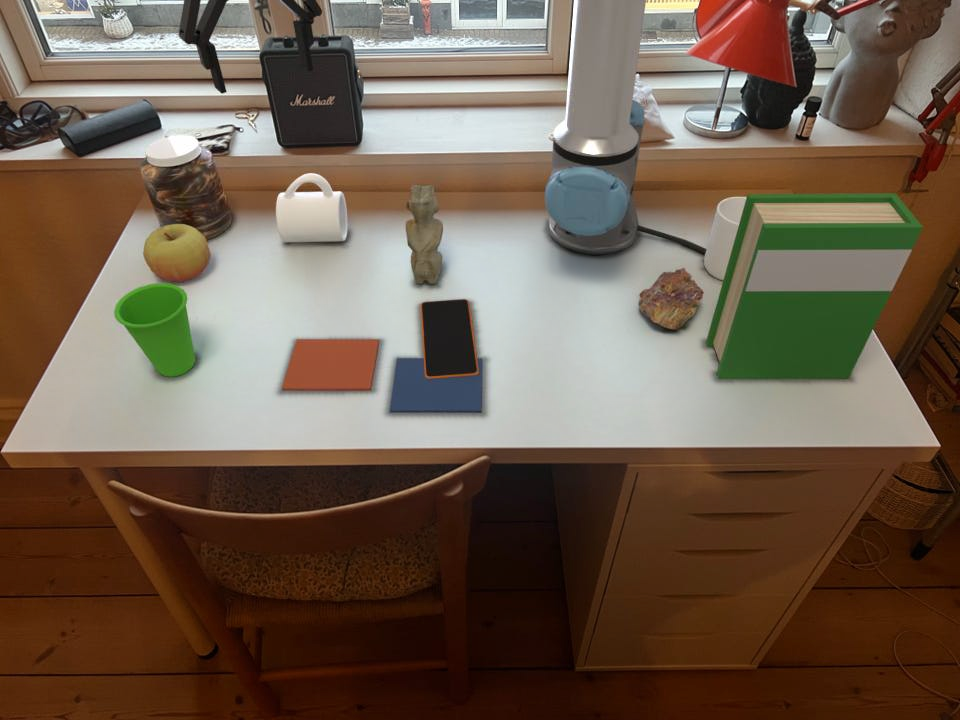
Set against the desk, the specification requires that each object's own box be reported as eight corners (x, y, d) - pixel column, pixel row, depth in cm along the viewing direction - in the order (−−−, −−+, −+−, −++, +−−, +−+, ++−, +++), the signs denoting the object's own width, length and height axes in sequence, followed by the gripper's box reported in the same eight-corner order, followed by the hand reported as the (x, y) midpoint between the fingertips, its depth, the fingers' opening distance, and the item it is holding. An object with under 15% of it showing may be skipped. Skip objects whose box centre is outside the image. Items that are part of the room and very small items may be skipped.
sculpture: (448, 263, 116) (444, 181, 105) (442, 289, 110) (437, 206, 100) (413, 261, 116) (406, 179, 106) (405, 287, 111) (397, 204, 101)
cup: (190, 391, 95) (164, 330, 87) (129, 382, 96) (99, 321, 88) (221, 347, 101) (199, 286, 93) (164, 339, 102) (138, 279, 95)
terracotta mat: (379, 341, 102) (379, 339, 101) (370, 390, 94) (370, 388, 94) (297, 341, 102) (296, 339, 102) (282, 390, 95) (281, 388, 94)
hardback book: (718, 378, 95) (765, 227, 79) (705, 342, 101) (747, 194, 84) (848, 378, 95) (923, 227, 79) (829, 342, 100) (895, 193, 84)
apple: (145, 291, 111) (127, 249, 105) (162, 256, 118) (146, 214, 112) (207, 288, 111) (193, 246, 106) (220, 253, 118) (207, 212, 113)
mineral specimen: (629, 277, 109) (657, 246, 105) (666, 298, 112) (696, 268, 108) (640, 326, 101) (672, 294, 97) (680, 348, 103) (713, 317, 99)
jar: (178, 207, 129) (151, 129, 119) (240, 208, 129) (218, 131, 119) (153, 243, 121) (121, 163, 111) (219, 244, 120) (193, 164, 110)
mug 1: (291, 225, 125) (277, 163, 116) (349, 224, 125) (339, 162, 116) (282, 251, 119) (267, 188, 110) (343, 250, 119) (333, 187, 110)
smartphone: (425, 382, 96) (424, 377, 95) (420, 305, 108) (420, 301, 107) (480, 377, 96) (480, 373, 96) (469, 302, 108) (469, 297, 108)
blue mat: (482, 360, 99) (482, 358, 98) (481, 412, 91) (481, 410, 91) (397, 360, 99) (396, 358, 98) (389, 412, 91) (389, 410, 91)
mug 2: (712, 297, 108) (728, 238, 101) (698, 252, 117) (712, 195, 110) (768, 298, 108) (788, 240, 101) (750, 253, 117) (768, 196, 109)
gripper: (305, -106, 97) (329, 52, 111) (119, -80, 86) (173, 91, 101) (330, -97, 92) (352, 67, 107) (137, -69, 82) (190, 108, 96)
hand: (265, 79), depth 104 cm, fingers open, 13 cm apart
